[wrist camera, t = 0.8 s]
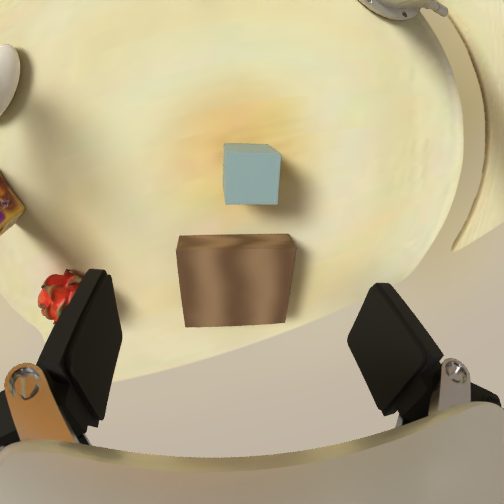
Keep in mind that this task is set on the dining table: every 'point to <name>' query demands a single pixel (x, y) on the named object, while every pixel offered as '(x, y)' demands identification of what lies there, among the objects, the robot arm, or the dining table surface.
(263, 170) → the block
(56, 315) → the dragon fruit
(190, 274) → the plinth
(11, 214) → the candy box
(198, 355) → the dining table surface
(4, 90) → the flower in vase
